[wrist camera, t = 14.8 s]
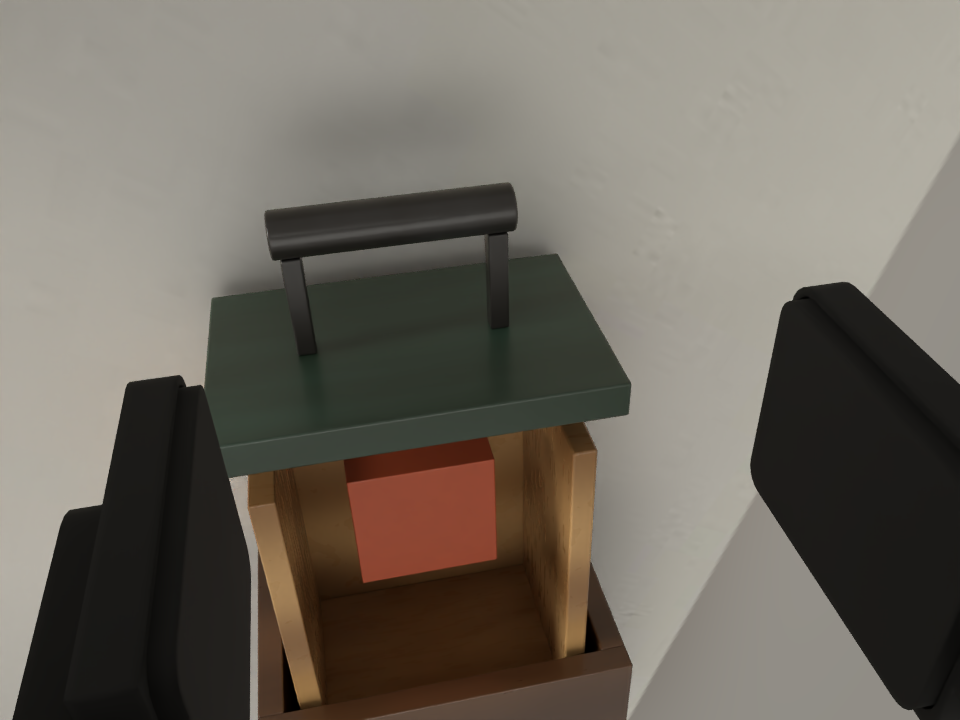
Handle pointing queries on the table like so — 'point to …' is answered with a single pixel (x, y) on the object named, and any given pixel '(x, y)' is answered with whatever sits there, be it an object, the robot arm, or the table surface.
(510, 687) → the cabinet
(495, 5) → the table surface
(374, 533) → the block
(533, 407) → the wooden drawer
